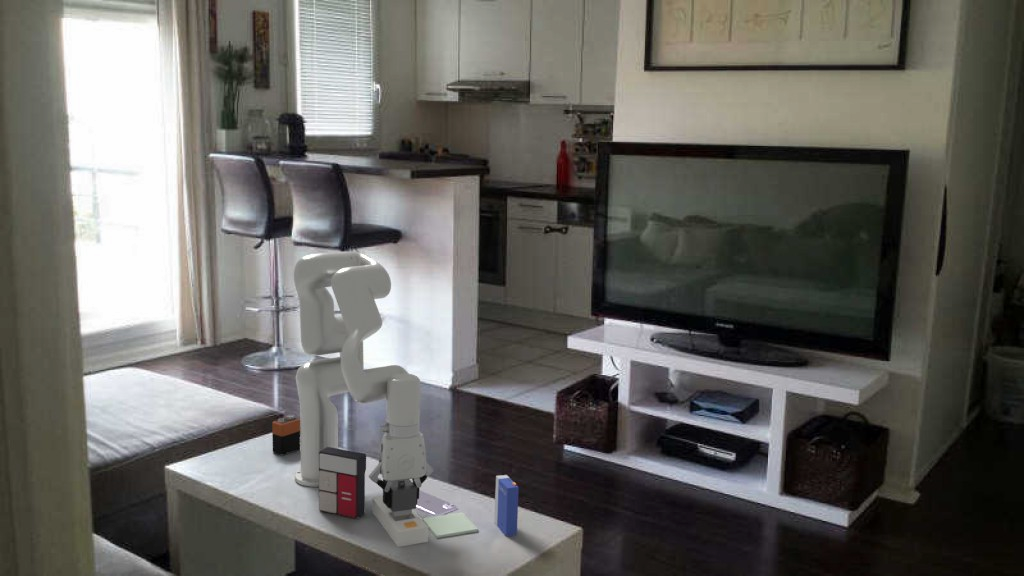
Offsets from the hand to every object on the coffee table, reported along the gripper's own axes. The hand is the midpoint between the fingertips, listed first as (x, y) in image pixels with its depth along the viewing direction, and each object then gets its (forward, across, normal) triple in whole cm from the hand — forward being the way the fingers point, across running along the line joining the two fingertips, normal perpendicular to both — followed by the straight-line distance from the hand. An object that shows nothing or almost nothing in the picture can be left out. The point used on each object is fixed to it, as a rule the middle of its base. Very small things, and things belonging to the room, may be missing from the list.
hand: (400, 503), depth 209 cm
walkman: (+6, +23, -9) cm, 25 cm away
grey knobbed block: (+2, 0, 0) cm, 2 cm away
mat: (+6, +11, -3) cm, 13 cm away
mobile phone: (+7, +11, +11) cm, 17 cm away
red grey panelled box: (+7, -10, +13) cm, 18 cm away
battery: (+8, -14, +59) cm, 62 cm away
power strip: (+6, 0, +1) cm, 6 cm away
